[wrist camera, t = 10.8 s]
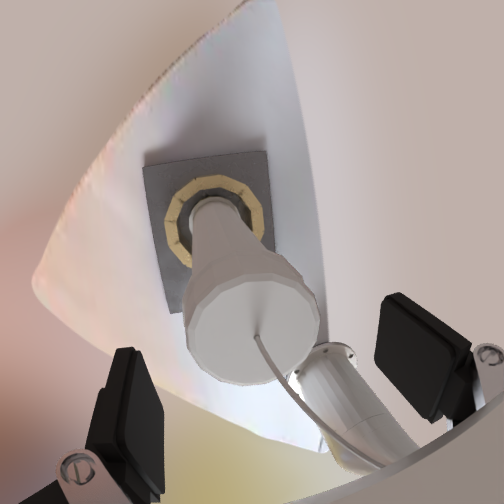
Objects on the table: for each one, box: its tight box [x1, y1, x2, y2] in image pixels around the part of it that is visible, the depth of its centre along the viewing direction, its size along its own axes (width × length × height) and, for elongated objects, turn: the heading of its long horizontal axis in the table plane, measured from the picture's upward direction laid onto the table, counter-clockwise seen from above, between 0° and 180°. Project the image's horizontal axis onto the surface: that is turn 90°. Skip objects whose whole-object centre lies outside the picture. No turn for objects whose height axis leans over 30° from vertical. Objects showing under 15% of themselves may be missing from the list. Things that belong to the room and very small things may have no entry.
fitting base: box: [142, 151, 275, 314], centre depth 33 cm, size 18×14×6 cm
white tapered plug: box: [182, 196, 386, 470], centre depth 19 cm, size 6×6×30 cm
